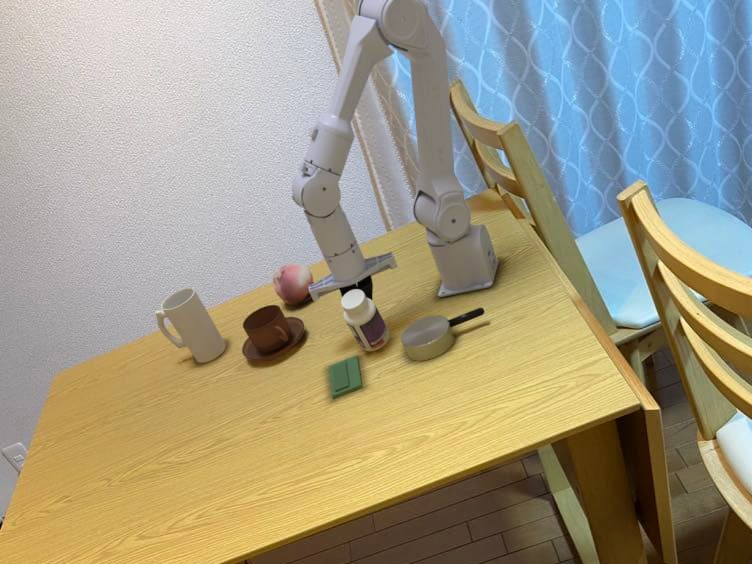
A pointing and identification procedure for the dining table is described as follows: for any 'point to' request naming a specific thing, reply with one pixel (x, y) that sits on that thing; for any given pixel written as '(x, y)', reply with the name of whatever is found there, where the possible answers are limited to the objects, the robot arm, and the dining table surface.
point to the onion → (293, 283)
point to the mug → (191, 325)
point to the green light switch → (345, 377)
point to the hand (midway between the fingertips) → (371, 319)
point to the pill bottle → (364, 320)
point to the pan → (433, 335)
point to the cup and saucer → (270, 333)
